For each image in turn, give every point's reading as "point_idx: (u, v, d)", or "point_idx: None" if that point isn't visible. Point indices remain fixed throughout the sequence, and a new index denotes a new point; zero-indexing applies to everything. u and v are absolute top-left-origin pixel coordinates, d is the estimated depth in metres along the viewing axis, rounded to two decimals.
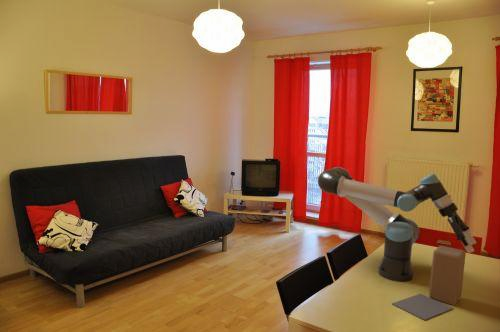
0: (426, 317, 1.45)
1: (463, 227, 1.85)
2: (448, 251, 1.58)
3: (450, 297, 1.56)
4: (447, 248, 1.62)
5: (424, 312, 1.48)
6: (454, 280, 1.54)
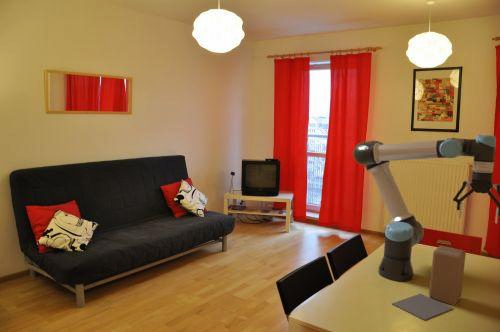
0: (426, 317, 1.45)
1: (495, 202, 1.69)
2: (448, 251, 1.58)
3: (450, 297, 1.56)
4: (447, 248, 1.62)
5: (424, 312, 1.48)
6: (454, 280, 1.54)
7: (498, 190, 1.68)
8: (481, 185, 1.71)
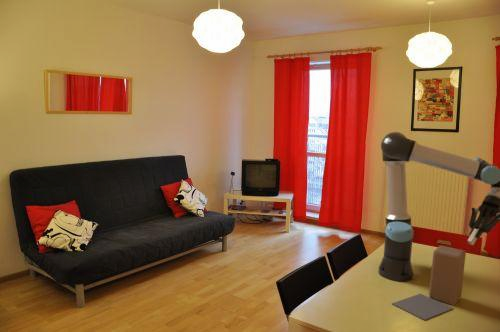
0: (426, 317, 1.45)
1: None
2: (448, 251, 1.58)
3: (450, 297, 1.56)
4: (447, 248, 1.62)
5: (424, 312, 1.48)
6: (454, 280, 1.54)
7: (496, 217, 1.67)
8: (492, 205, 1.72)
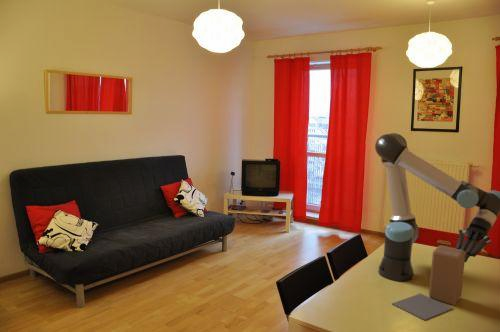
0: (426, 317, 1.45)
1: None
2: (448, 251, 1.57)
3: (450, 297, 1.56)
4: (447, 248, 1.61)
5: (424, 312, 1.48)
6: (453, 280, 1.54)
7: (483, 240, 1.63)
8: (479, 228, 1.68)
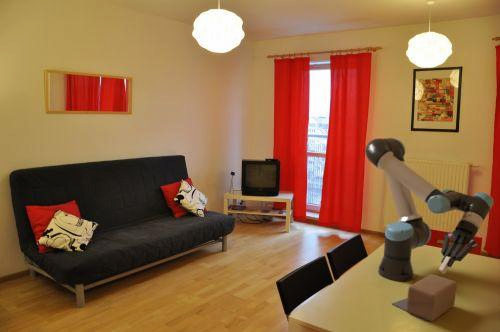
0: None
1: None
2: (419, 308, 1.44)
3: None
4: (416, 297, 1.45)
5: None
6: None
7: (469, 244, 1.58)
8: (465, 231, 1.62)
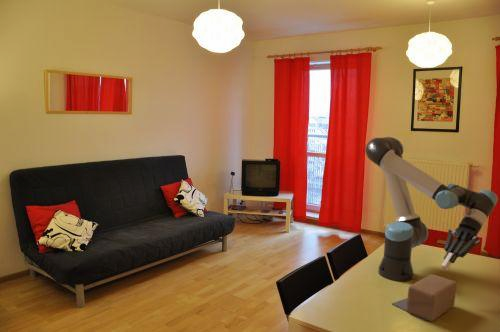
0: None
1: None
2: (419, 308, 1.44)
3: None
4: (416, 297, 1.45)
5: None
6: None
7: (472, 240, 1.59)
8: (468, 228, 1.64)
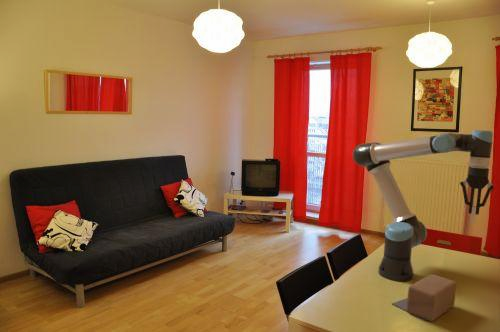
0: None
1: None
2: (419, 308, 1.44)
3: None
4: (416, 297, 1.45)
5: None
6: None
7: (489, 190, 1.67)
8: (479, 176, 1.69)
